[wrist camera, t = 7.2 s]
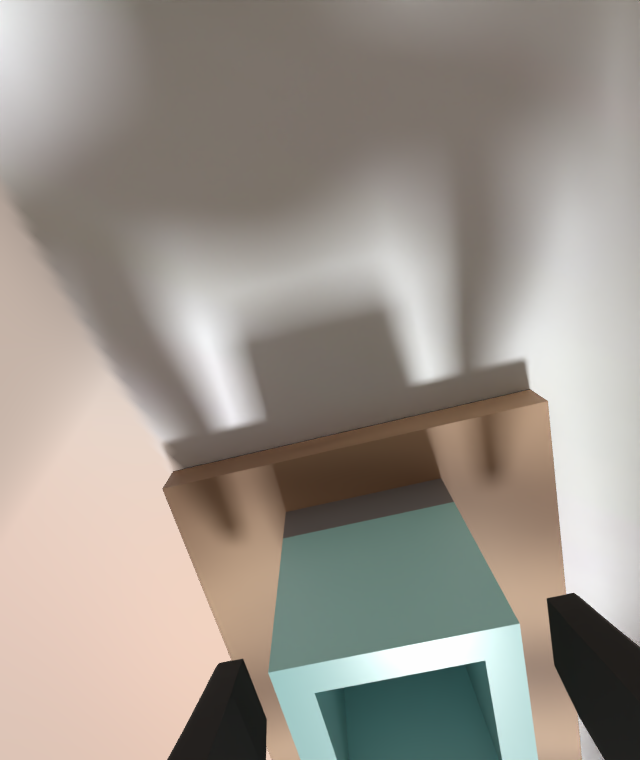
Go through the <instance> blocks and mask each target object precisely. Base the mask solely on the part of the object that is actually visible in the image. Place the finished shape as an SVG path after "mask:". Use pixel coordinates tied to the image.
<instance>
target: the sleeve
mask: <svg viewBox="0 0 640 760" xmlns="http://www.w3.org/2000/svg"><path fill="white" fill-rule="evenodd" d="M268 674H269V676H270V679H271V682H272V684H273V687H274V690H275V692H276V695H277V698H278V701H279V703H280V706H281V709H282V711H283V714H284V717H285V719H286V722H287V725H288V727H289V730H290V733H291V736H292V738H293V741H294V744H295V746H296V749H297V752H298V754H299V757H300V760H538V755H537V748H536V740H535V733H534V725H533V718H532V711H531V703H530V696H529V688H528V681H527V674H526V666H525V659H524V651H523V644H522V637H521V629H520V623H519V621H518V619H517V618H516V616H515V614H514V612H513V610H512V608H511V606H510V605H509V603H508V601H507V599H506V597H505V595H504V594H503V592H502V590H501V588H500V586H499V584H498V582H497V581H496V579H495V577H494V575H493V573H492V571H491V569H490V568H489V566H488V564H487V562H486V560H485V558H484V556H483V555H482V553H481V551H480V549H479V547H478V545H477V544H476V542H475V540H474V538H473V536H472V534H471V532H470V531H469V529H468V527H467V525H466V523H465V521H464V519H463V518H462V516H461V514H460V512H459V510H458V508H457V506H456V505H455V503H454V501H453V499H452V497H451V495H450V494H449V492H448V490H447V488H446V486H445V484H444V482H443V481H442V479H441V478H440V479H435V480H431V481H426V482H422V483H417V484H412V485H408V486H403V487H399V488H394V489H389V490H385V491H380V492H376V493H371V494H367V495H362V496H357V497H353V498H348V499H344V500H339V501H334V502H330V503H325V504H321V505H316V506H312V507H307V508H302V509H298V510H293V511H289V512H286V515H285V524H284V533H283V542H282V552H281V561H280V570H279V579H278V588H277V597H276V606H275V615H274V624H273V633H272V643H271V652H270V661H269V670H268Z"/></svg>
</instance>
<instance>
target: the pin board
mask: <svg viewBox="0 0 640 760" xmlns="http://www.w3.org/2000/svg"><path fill="white" fill-rule="evenodd" d="M440 478H441V479H442V481H443V482H444V484H445V486H446V488H447V490H448V492H449V494H450V495H451V497H452V499H453V501H454V503H455V505H456V506H457V508H458V510H459V512H460V514H461V516H462V518H463V519H464V521H465V523H466V525H467V527H468V529H469V531H470V532H471V534H472V536H473V538H474V540H475V542H476V544H477V545H478V547H479V549H480V551H481V553H482V555H483V556H484V558H485V560H486V562H487V564H488V566H489V568H490V569H491V571H492V573H493V575H494V577H495V579H496V581H497V582H498V584H499V586H500V588H501V590H502V592H503V594H504V595H505V597H506V599H507V601H508V603H509V605H510V606H511V608H512V610H513V612H514V614H515V616H516V618H517V619H518V621H519V623H520V629H521V637H522V644H523V651H524V659H525V666H526V674H527V681H528V688H529V696H530V703H531V711H532V718H533V725H534V733H535V740H536V748H537V755H538V760H582V756H581V746H580V735H579V725H578V714H577V711H576V709H575V707H574V705H573V703H572V701H571V699H570V697H569V695H568V693H567V691H566V689H565V687H564V685H563V683H562V680H561V678H560V676H559V674H558V672H557V670H556V668H555V666H554V660H553V651H552V642H551V633H550V624H549V616H548V607H547V598H550V597H556V596H561V595H566V588H565V577H564V567H563V556H562V546H561V535H560V525H559V514H558V504H557V493H556V483H555V472H554V462H553V451H552V441H551V430H550V420H549V409H548V401H547V400H545V399H544V398H542V397H541V396H539V395H538V394H536V393H535V392H533V391H532V390H526V391H521V392H517V393H513V394H508V395H504V396H499V397H495V398H491V399H486V400H482V401H478V402H473V403H469V404H465V405H460V406H456V407H452V408H447V409H443V410H439V411H434V412H430V413H425V414H421V415H417V416H412V417H408V418H404V419H399V420H395V421H391V422H386V423H382V424H378V425H373V426H369V427H365V428H360V429H356V430H352V431H347V432H343V433H338V434H334V435H330V436H325V437H321V438H317V439H312V440H308V441H304V442H299V443H295V444H291V445H286V446H282V447H278V448H273V449H269V450H264V451H260V452H256V453H251V454H247V455H243V456H238V457H234V458H230V459H225V460H221V461H217V462H212V463H208V464H204V465H199V466H195V467H191V468H186V469H182V470H177V471H173V473H172V474H171V476H170V478H169V479H168V481H167V482H166V484H165V486H164V487H163V492H164V494H165V496H166V499H167V501H168V504H169V506H170V509H171V511H172V514H173V516H174V519H175V521H176V524H177V526H178V529H179V531H180V533H181V536H182V539H183V541H184V544H185V546H186V549H187V551H188V553H189V556H190V558H191V561H192V563H193V566H194V568H195V571H196V573H197V576H198V578H199V581H200V583H201V586H202V588H203V591H204V593H205V596H206V598H207V601H208V603H209V606H210V608H211V610H212V613H213V615H214V618H215V620H216V623H217V625H218V628H219V630H220V633H221V635H222V638H223V640H224V643H225V645H226V648H227V650H228V653H229V655H230V658H231V660H232V661H233V660H238V659H244V662H245V664H246V667H247V670H248V672H249V675H250V677H251V680H252V682H253V685H254V688H255V690H256V693H257V695H258V698H259V700H260V703H261V706H262V708H263V711H264V713H265V716H266V718H267V736H266V747H267V749H268V752H269V754H270V757H271V759H272V760H300V757H299V754H298V752H297V749H296V746H295V744H294V741H293V738H292V736H291V733H290V730H289V727H288V725H287V722H286V719H285V717H284V714H283V711H282V709H281V706H280V703H279V701H278V698H277V695H276V692H275V690H274V687H273V684H272V682H271V679H270V676H269V674H268V670H269V661H270V652H271V643H272V633H273V624H274V615H275V606H276V597H277V588H278V579H279V570H280V561H281V552H282V542H283V533H284V524H285V515H286V512H289V511H293V510H298V509H302V508H307V507H312V506H316V505H321V504H325V503H330V502H334V501H339V500H344V499H348V498H353V497H357V496H362V495H367V494H371V493H376V492H380V491H385V490H389V489H394V488H399V487H403V486H408V485H412V484H417V483H422V482H426V481H431V480H435V479H440Z"/></svg>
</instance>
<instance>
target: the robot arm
mask: <svg viewBox="0 0 640 760" xmlns="http://www.w3.org/2000/svg"><path fill="white" fill-rule="evenodd" d="M547 607H548V616H549V624H550V633H551V642H552V651H553V660H554V666H555V668H556V670H557V672H558V674H559V676H560V678H561V680H562V683H563V685H564V687H565V689H566V691H567V693H568V695H569V697H570V699H571V701H572V703H573V705H574V707H575V709H576V711H577V713H578V715H579V717H580V719H581V721H582V722H583V724H584V726H585V727H586V729H587V731H588V732H589V734H590V736H591V737H592V739H593V741H594V742H595V744H596V746H597V747H598V749H599V751H600V752H601V754H602V756H603V757H604V759H605V760H640V647H639V646H638V645H637V644H635V643H634V642H633V641H632V640H630V639H629V638H628V637H627V636H626V635H624V634H623V633H622V632H621V631H619V630H618V629H617V628H616V627H615V626H613V625H612V624H611V623H610V622H609V621H607V620H606V619H605V618H604V617H603V616H601V615H600V614H599V613H598V612H597V611H596V610H594V609H593V608H592V607H591V606H590V605H588V604H587V603H586V602H585V601H584V600H583V599H581V598H580V597H579V596H578V595H576V594H574V593H571V594H566V595H561V596H556V597H550V598H547ZM266 736H267V718H266V716H265V713H264V711H263V708H262V706H261V703H260V700H259V698H258V695H257V693H256V690H255V688H254V685H253V682H252V680H251V677H250V675H249V672H248V670H247V667H246V664H245V662H244V659H238V660H233V661H228V662H223V663H219V664H218V665H217V667H216V668H215V670H214V672H213V674H212V676H211V678H210V680H209V682H208V684H207V686H206V688H205V690H204V692H203V694H202V696H201V698H200V699H199V702H198V703H197V705H196V707H195V709H194V711H193V713H192V715H191V717H190V719H189V721H188V722H187V724H186V726H185V728H184V730H183V732H182V734H181V736H180V738H179V739H178V741H177V743H176V745H175V747H174V749H173V750H172V752H171V754H170V756H169V758H168V759H167V760H266Z"/></svg>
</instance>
